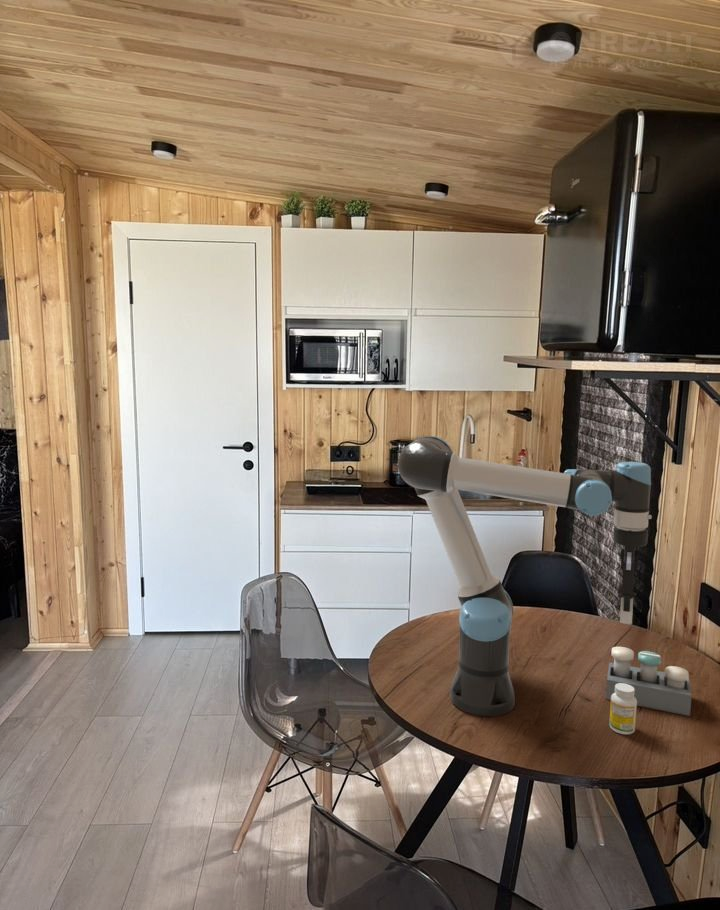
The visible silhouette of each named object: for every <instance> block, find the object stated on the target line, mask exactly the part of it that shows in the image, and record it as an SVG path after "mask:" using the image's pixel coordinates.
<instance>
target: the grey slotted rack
mask: <svg viewBox="0 0 720 910" xmlns="http://www.w3.org/2000/svg"><path fill="white" fill-rule="evenodd" d="M640 670H641V667H637V666H632V665H630V672H629V678H628V679H626V678H621V677H615V676H614V675H613V671H614V662H608V671H607V677H606V688H605V689H606V694H605V700H607V701H611V696H612V694H613V693H615V685H616V684H618V683H625V684H628V685H631V686H632V687H634V689H635V694H634V697H635V698H636V700H637V707H639V706H640V707H643V708H647V709H652V710H653V709H654V710H659V711H662V712H663V711H664V712H668V713H673V714H679V715H683V716H687V717H691V708H692V707H691V706H692V689H691V682H690V676H688V680H687V681H685V684H684V689H680V688H674V687H669V686H667V682H668V678H667V677H666V676H665V671H659V670H657V679H656V684H653V683H648V682H642V681H640Z"/></svg>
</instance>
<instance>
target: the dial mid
mask: <svg viewBox="0 0 720 910" xmlns="http://www.w3.org/2000/svg"><path fill="white" fill-rule="evenodd" d="M637 655H638V656H637V661H639V663H640V668H641V670H640V681H642V682H648V683H653V684H656V679H657V671H658V666H660V665H662V656H661V655H660V654H659V653H657V652H654V651H649V650H642V651H639V652H638V654H637Z"/></svg>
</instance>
